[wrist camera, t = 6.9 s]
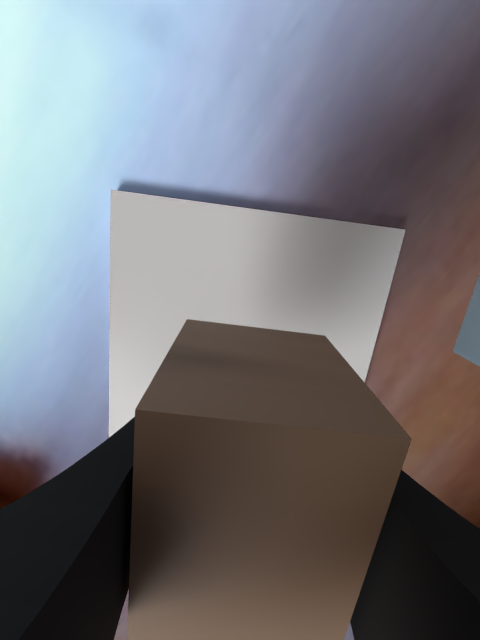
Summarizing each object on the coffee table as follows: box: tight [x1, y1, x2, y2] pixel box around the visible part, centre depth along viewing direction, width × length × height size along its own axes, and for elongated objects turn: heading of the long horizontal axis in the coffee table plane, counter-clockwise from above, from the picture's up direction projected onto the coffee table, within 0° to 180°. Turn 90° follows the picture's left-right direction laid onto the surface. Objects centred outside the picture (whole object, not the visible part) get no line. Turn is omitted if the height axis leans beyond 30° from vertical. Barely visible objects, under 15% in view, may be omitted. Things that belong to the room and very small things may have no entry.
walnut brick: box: [127, 319, 411, 640], centre depth 8 cm, size 6×4×5 cm
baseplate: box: [109, 190, 405, 437], centre depth 16 cm, size 14×14×1 cm
